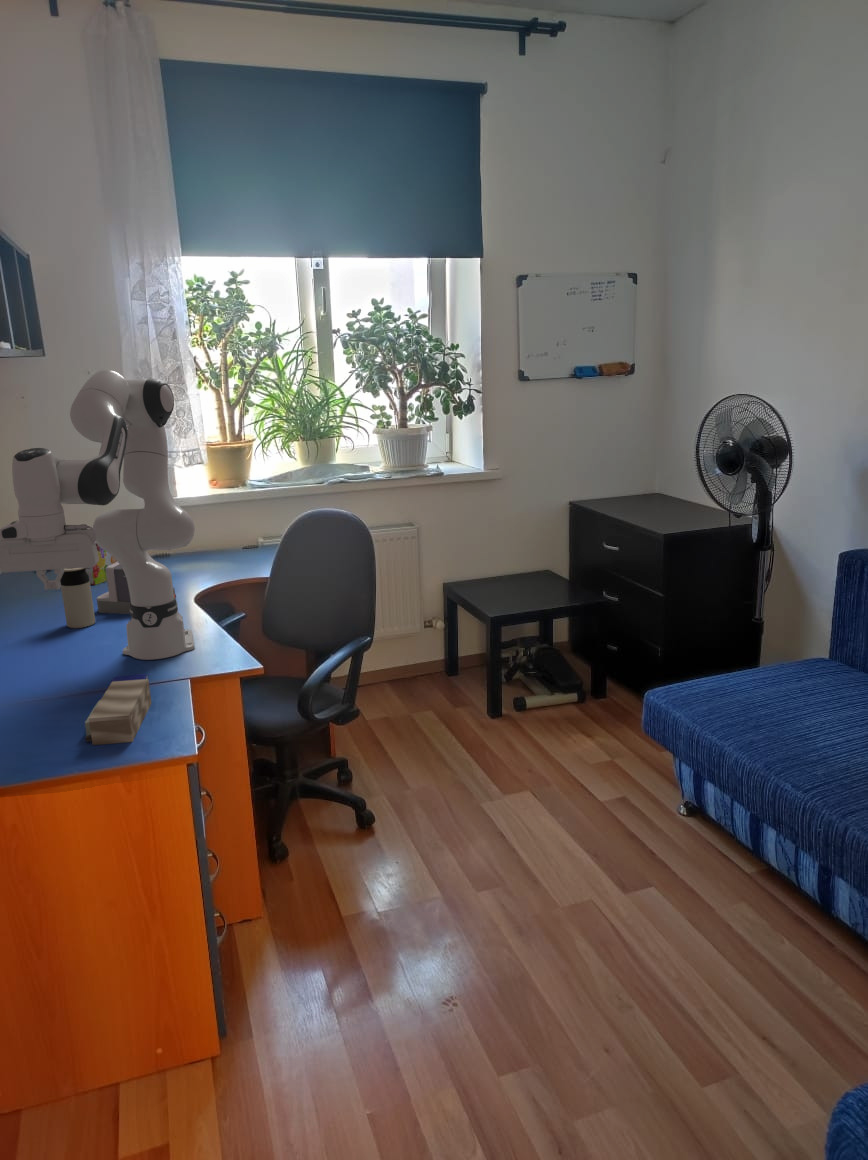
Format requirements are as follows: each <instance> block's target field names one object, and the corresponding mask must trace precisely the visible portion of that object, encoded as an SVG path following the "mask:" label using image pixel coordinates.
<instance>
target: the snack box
mask: <svg viewBox="0 0 868 1160" xmlns="http://www.w3.org/2000/svg"><path fill="white" fill-rule="evenodd" d="M95 544H96V547H97V551H98V555H99V561H98V563H97V564H96V565H95V566H94V567H87V568H86V572H87V574H88V575H89V580H90V585H92V586H97V585H99V584H102V583H107V576H106V567H107V566H110V565H112V564H114V563H116V562H118V561H117V560H116V559H115V558H114V557H113V556H112V555H111V554H110V553H108V552H107V551H105V550H104V549H102V548H101V547H100V546H99V545H98V544H97V543H96V542H95Z"/></svg>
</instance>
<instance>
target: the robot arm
mask: <svg viewBox="0 0 868 1160" xmlns="http://www.w3.org/2000/svg"><path fill="white" fill-rule="evenodd" d="M174 398H175V396H174V393H173V391H172V389H171V387H170V386H169V384H168V383H167V382H166V381H165V380H163V379H160V378H148V379H126V378H125V377H124V376H123V375H121V374H120V373H119V372H117V371H114V370H111V369H103V370H102V369H101V370H98V371H97V372H95V373H94V374H92V375H91V376H90V377H89V379H88V380H86V381H85V383H84V384H83V386H82V387H80V390H79V392H78V393H77V395H76V396H75V398H74V400H73V401H72V404H71V407H70V410H69V411H70V412H69V417H70V421H71V423H72V425H73V427H74V429H75V430H76V431H77V432H78V433H79V434H80V435H81V436H82V437H84V438H86V439H87V440H89V441H91V442H94V443H99V444H101V445H100V448H99V453H98V455H97V456H96V457H92V458H88V459H60V458H57V457H54V455H53V453H52V451H51V450H50V449H49V448H45V447H32V448H28V449H23V450H20V451H17V453H16V454H14V455H13V458H12V462H11V463H12V464H11V472H12V473H11V474H12V476H11V477H12V484H13V490H14V491H13V492H14V495H15V498H16V500H17V503H18V511H17V515H18V520H15V521H12V522H11V523H8V524H5V525H3V526H1V527H0V572H1V573H12V572H13V573H15V572H16V573H17V572H18V573H19V572H33V571H34V572H35V573H36V576H37V577H38V579H40V581H41V582H42V583H43V588H44V590H45V591H46V590H47V591H50V590H60V589H61V583H60V580H61V578H62V575H63V573H64V569H70V568H87V567H94V566H95V565H96V564H97V563H98V561H99V555H98V551H97V547H96V544H95V542H96V543H97V544H98V545H99V546H100V547H101V548H102V549H104V550H105V551H107V552H108V553H110V554H111V555H112V556H113V557H114V558H115V559H116V560H117V561H118V563H119V564H120V566H121V567H122V569H123V571H124V573H125V575H126V579H127V583H128V588H129V593H130V600H131V603H130V608H129V609H130V614H129V615H130V617H131V619H130V620H129V621H128V622H127V623H126V626H125V627H126V638H127V639H126V640H127V646H126V647H124V648H123V649H122V654H123V655H127V656H131V657H132V658H134V659H137V660H147V661H148V660H149V661H150V660H161V659H167V658H171V657H174V656H177V655H180V654H182V653H184V652H188V651H191V650H194V649H195V647H196V646H195V641H194V640H195V639H194V634H193V631H192V630H191V629H188V628H187V629H186V628H185V627H184V619H183V616H182V615H181V614H180V612H179V609H178V602H177V599H176V598H177V597H176V598H175V594H176V593H175V594H174V592H173V587H174V585H173V584H174V583H173V577H172V573H171V571H170V569H169V568H168V566H166V565H165V564H162V563H161V562H158V561H156V560H155V559H153V558H152V557H151V556H150V554H149V552H148V551H153V552H154V551H171V550H177V549H181V548H186V547H187V546H189V544H190V543H191V542H192V540H193V538H194V535H195V531H196V530H195V523H194V520H193V518H192V517H191V515H190V514H189V513H188V512H187V511H186V510H185V509H183V508H182V507H181V506H180V505H178V503H177V501H175V499H174V498H173V496H172V492H171V490H170V487H169V473H168V471H169V464H168V463H169V461H168V459H169V454H168V453H169V451H168V440H167V433H166V428H165V426H166V425H167V422H168V420H169V419H170V418H171V416H172V414H173V411H174V408H175V399H174ZM122 465H123V466H122ZM122 467H123V468H122ZM122 469H123V471H122ZM121 471H122V473H123V474H122V483H123V485H124V487H125V489H126V490H127V492H129V493H131V494H132V495H134V496H137V497H138V498H141V499H143V503H144V507H143V508H124V509H123V508H121V509H119V508H118V509H114V510H109V511H105V512H101V513H99V514H98V515H97V516H96V518H95V520H94V522H93V524H92V526H89V525H87V524H84V523H83V524H66V518H65V511H64V507H63V505H64V504H65V505H92V506H107V505H109V504H110V503H111V502H112V501H114V499H116V497H117V495H118V494H119V492H120V486H121ZM50 570H51V571H54V575H56V577H55V579H51V580H50V579H49V578H48V577H47V575H46V573H47V571H50Z"/></svg>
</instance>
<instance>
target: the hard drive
mask: <svg viewBox="0 0 868 1160" xmlns="http://www.w3.org/2000/svg"><path fill="white" fill-rule="evenodd" d="M141 679H148V674H147V673H139V674H138V673H137V674H129V675H119V676H113V677H112V679H111V680H110V681H111V682H110V684H111V683H112V682H114V681H127V680H141Z"/></svg>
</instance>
